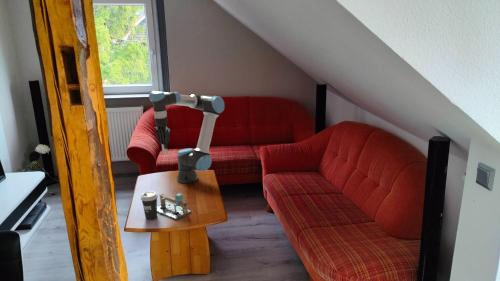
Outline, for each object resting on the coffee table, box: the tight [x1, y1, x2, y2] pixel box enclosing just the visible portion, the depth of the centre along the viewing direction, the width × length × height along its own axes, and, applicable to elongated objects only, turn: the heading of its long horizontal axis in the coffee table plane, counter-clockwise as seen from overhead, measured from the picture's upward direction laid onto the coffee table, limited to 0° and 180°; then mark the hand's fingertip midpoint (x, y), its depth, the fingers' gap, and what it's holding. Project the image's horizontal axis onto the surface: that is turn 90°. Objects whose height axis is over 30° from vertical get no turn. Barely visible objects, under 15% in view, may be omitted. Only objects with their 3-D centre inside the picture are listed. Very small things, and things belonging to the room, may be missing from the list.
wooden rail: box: [159, 193, 189, 214], centre depth 223 cm, size 5×22×6 cm, turn 52°
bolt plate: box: [157, 201, 192, 221], centre depth 224 cm, size 12×22×1 cm, turn 52°
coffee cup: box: [140, 190, 158, 221], centre depth 214 cm, size 10×10×15 cm
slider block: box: [173, 192, 184, 213], centre depth 219 cm, size 6×3×10 cm, turn 142°
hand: (165, 153), depth 233 cm, fingers closed
